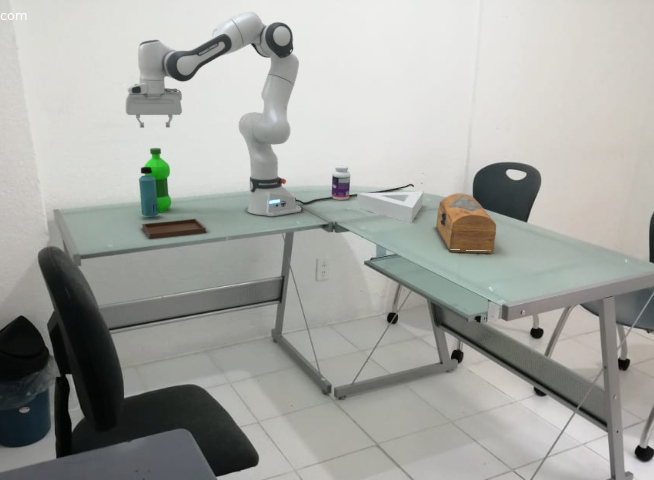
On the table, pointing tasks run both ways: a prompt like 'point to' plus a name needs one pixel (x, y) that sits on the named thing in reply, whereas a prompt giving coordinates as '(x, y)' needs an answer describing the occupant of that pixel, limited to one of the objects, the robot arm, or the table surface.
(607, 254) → the table surface
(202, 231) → the tray
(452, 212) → the wooden box
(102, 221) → the table surface
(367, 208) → the triangle block
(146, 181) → the beverage bottle
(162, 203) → the plastic bottle
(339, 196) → the pill bottle
